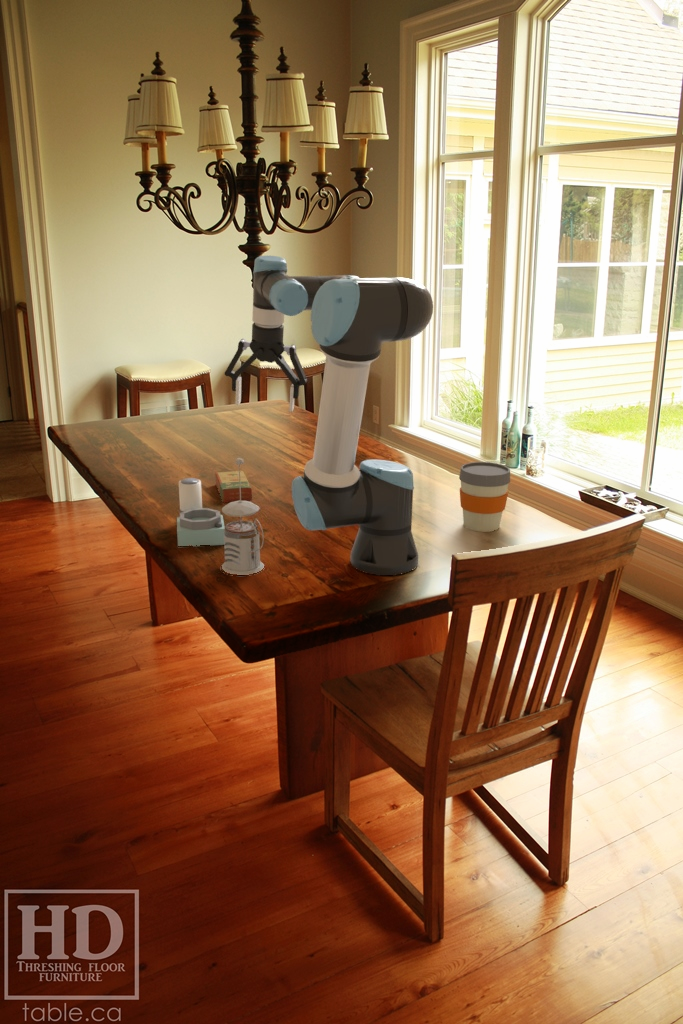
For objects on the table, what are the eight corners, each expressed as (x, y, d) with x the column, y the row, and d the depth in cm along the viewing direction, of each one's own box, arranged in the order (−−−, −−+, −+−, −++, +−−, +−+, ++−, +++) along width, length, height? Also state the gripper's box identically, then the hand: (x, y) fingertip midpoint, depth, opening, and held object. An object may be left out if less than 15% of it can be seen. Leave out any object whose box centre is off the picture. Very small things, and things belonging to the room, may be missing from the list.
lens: (203, 526, 210) (201, 483, 206) (180, 528, 209) (178, 484, 205) (203, 519, 215) (201, 476, 212) (180, 520, 214) (178, 477, 211)
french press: (247, 555, 193) (243, 449, 184) (279, 570, 185) (277, 460, 176) (211, 566, 186) (206, 457, 178) (243, 582, 178) (239, 469, 170)
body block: (225, 544, 199) (224, 520, 197) (178, 547, 197) (176, 523, 195) (223, 529, 208) (222, 507, 206) (177, 532, 206) (176, 509, 204)
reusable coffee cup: (486, 514, 221) (490, 459, 216) (516, 529, 210) (521, 472, 205) (446, 521, 215) (449, 465, 210) (475, 537, 205) (479, 478, 200)
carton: (244, 484, 245) (243, 470, 244) (252, 501, 231) (252, 486, 229) (215, 486, 243) (214, 471, 242) (222, 503, 228) (221, 488, 227)
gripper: (322, 325, 203) (316, 407, 213) (220, 313, 205) (219, 395, 215) (317, 333, 197) (311, 418, 207) (212, 321, 198) (212, 405, 208)
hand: (264, 406), depth 211 cm, fingers open, 13 cm apart
